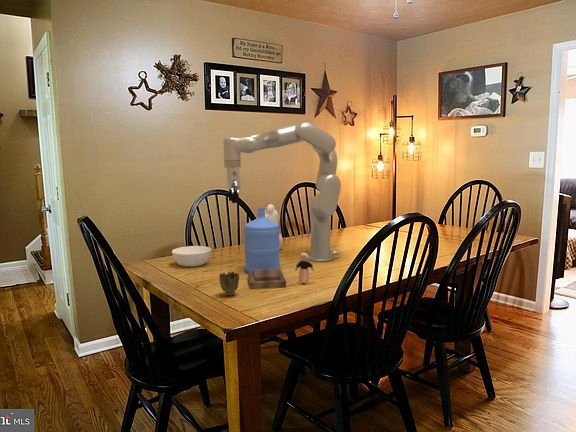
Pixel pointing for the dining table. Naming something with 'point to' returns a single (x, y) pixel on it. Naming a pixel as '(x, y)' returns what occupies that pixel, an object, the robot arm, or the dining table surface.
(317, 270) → the dining table surface
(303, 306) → the dining table surface
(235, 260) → the dining table surface
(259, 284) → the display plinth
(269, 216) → the decorative rooster
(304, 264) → the grandmother figurine
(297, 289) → the dining table surface
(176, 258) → the bowl
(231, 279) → the cup
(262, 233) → the water jug
